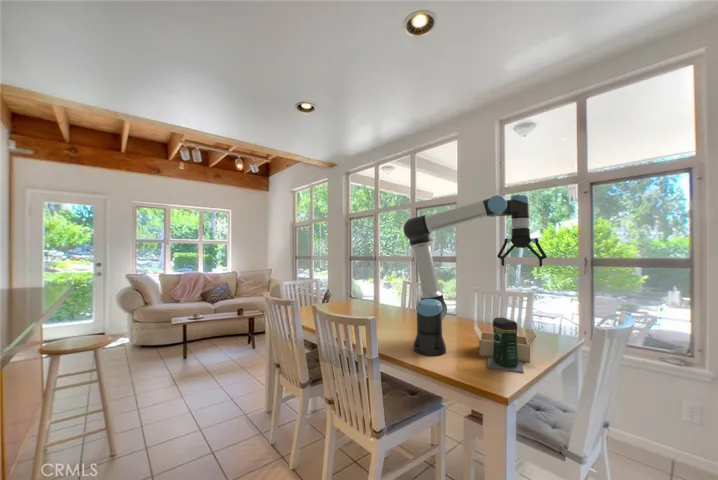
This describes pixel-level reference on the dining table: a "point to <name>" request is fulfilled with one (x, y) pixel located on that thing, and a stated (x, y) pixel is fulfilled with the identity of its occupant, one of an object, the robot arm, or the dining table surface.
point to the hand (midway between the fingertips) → (521, 273)
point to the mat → (495, 365)
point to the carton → (488, 344)
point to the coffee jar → (505, 342)
